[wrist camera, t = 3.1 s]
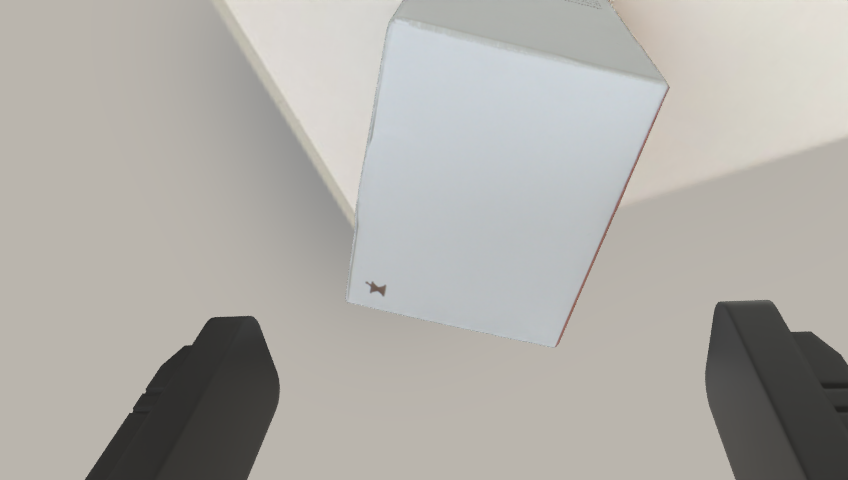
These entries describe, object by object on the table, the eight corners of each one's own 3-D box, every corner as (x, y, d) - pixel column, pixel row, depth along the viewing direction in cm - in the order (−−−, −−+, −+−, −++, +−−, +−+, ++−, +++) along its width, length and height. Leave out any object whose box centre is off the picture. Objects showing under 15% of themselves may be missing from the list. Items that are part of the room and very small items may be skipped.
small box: (537, 159, 28) (557, 357, 17) (403, 128, 28) (337, 307, 17) (598, -26, 23) (678, 82, 13) (438, -63, 23) (380, 14, 12)
